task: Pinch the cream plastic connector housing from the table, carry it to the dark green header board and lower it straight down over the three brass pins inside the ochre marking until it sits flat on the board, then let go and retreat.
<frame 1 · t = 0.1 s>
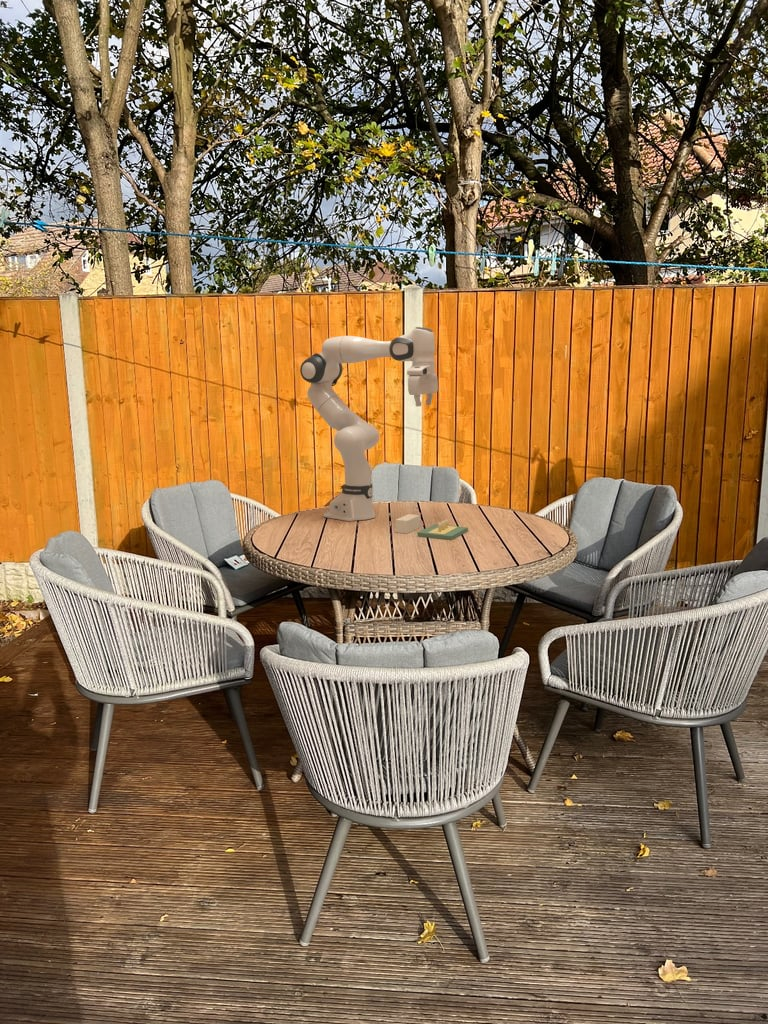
hand: (423, 405, 300), 48 cm above the table, fingers open, 8 cm apart
housing: (408, 529, 299), on the table
header board: (443, 533, 292), on the table
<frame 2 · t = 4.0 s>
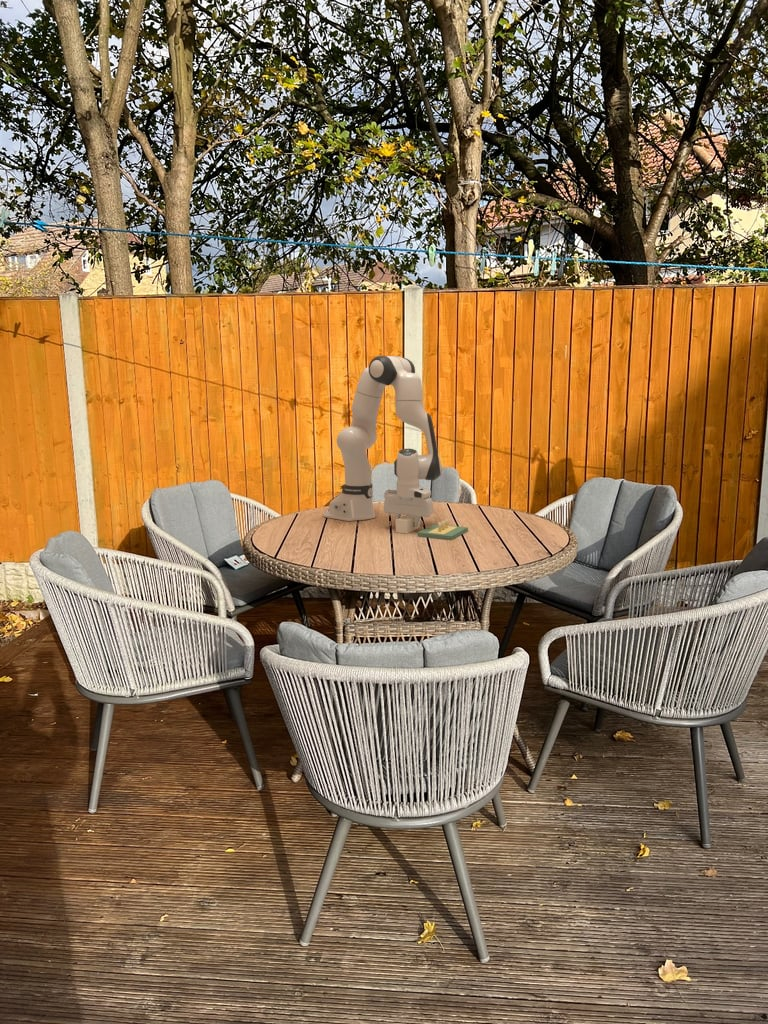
hand: (408, 525, 298), 2 cm above the table, fingers closed on housing, 5 cm apart
housing: (408, 529, 299), on the table, touching gripper
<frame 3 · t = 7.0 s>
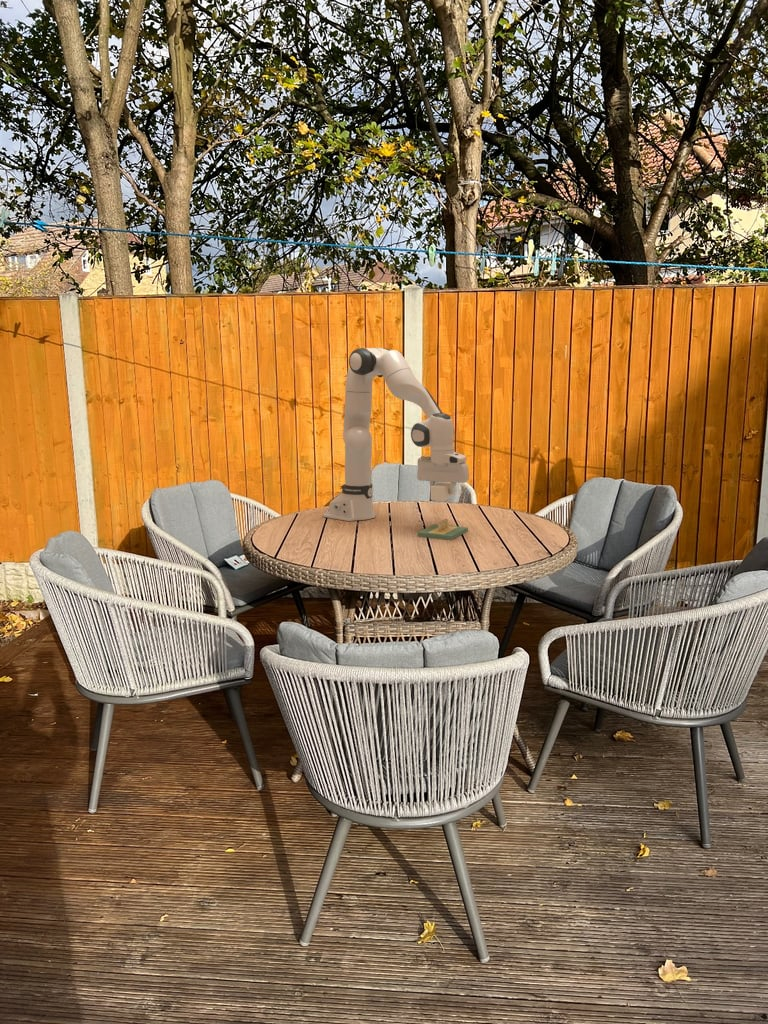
hand: (443, 493, 288), 16 cm above the table, fingers closed on housing, 5 cm apart
housing: (443, 497, 289), point 14 cm above the table, touching gripper
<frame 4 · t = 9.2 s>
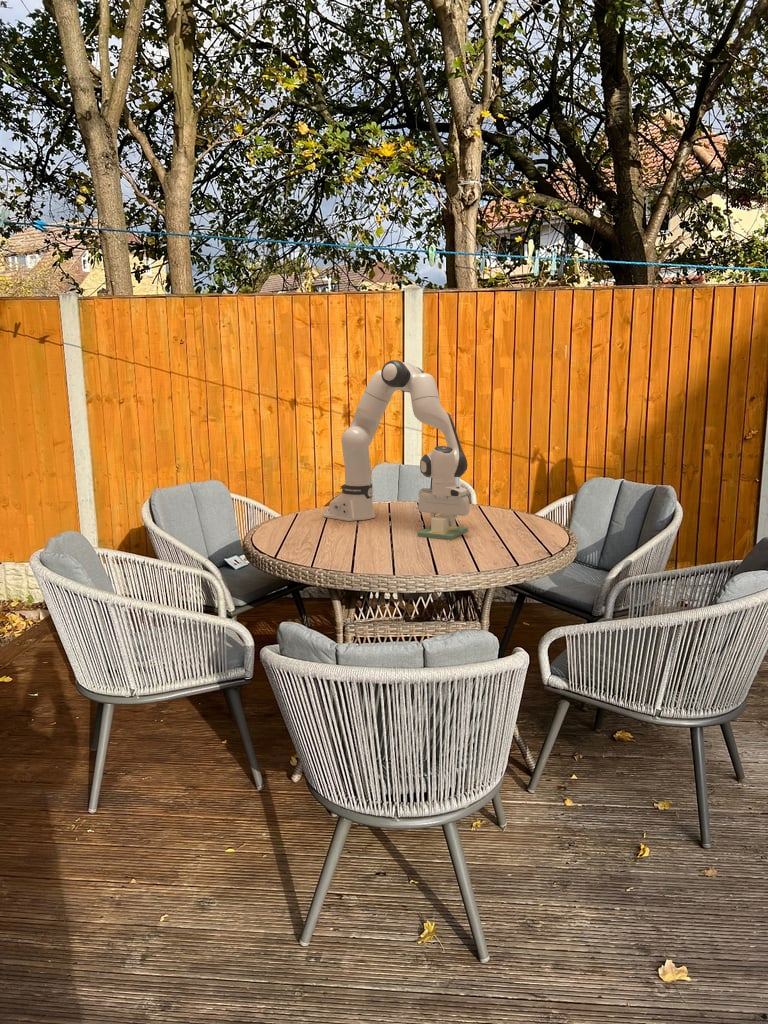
hand: (443, 525, 291), 3 cm above the table, fingers closed on housing, 5 cm apart
housing: (443, 529, 291), point 2 cm above the table, touching gripper
when the fingers open (3 cm above the table, at t = 10.4 s): housing stays where it is, resting on header board.
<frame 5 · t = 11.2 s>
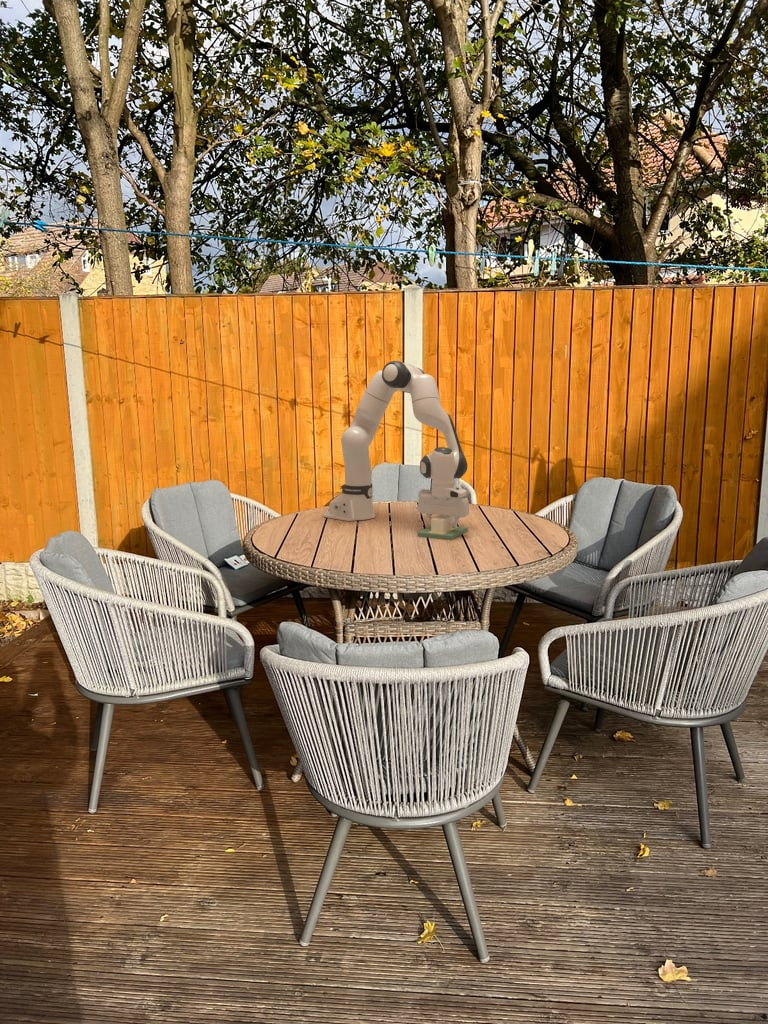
hand: (443, 526, 291), 3 cm above the table, fingers open, 8 cm apart
housing: (443, 529, 291), point 2 cm above the table, touching header board
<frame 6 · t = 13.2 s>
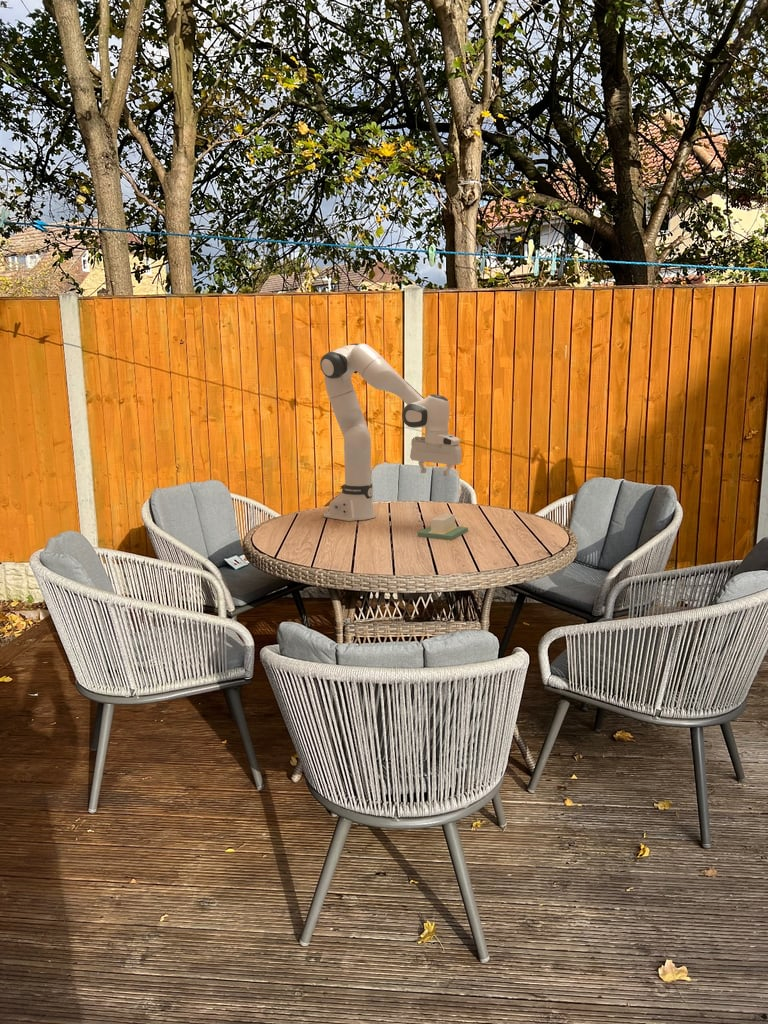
hand: (434, 474, 291), 22 cm above the table, fingers open, 8 cm apart
nothing on the table moved.
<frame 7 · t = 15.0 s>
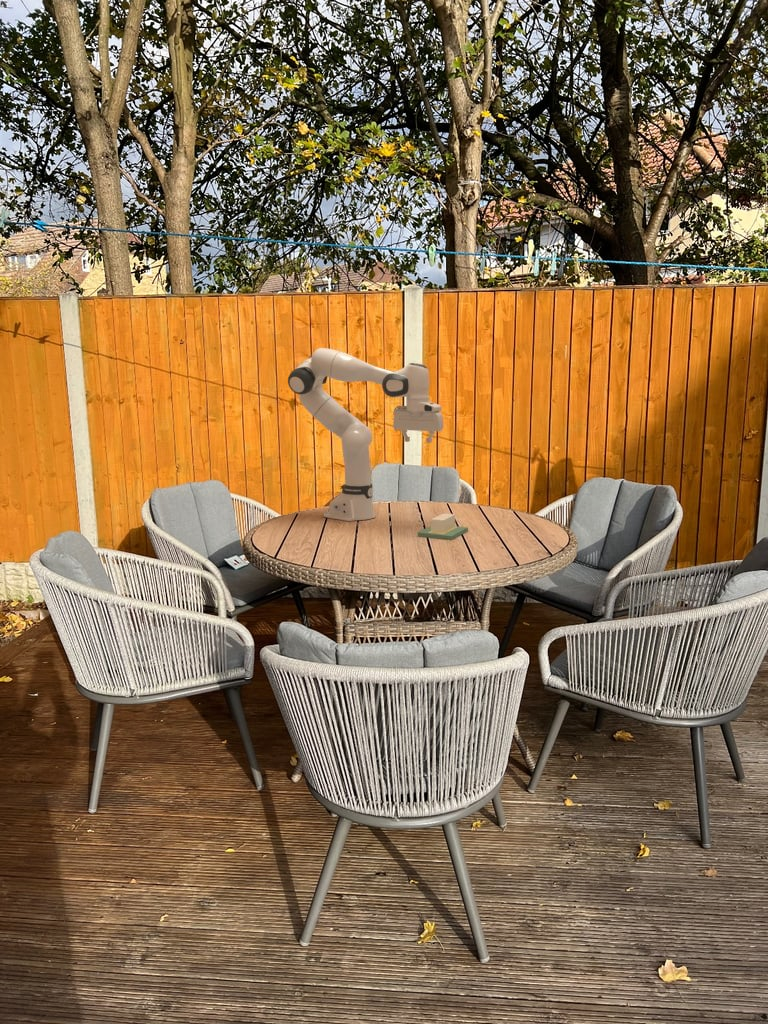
hand: (418, 442, 295), 34 cm above the table, fingers open, 8 cm apart
nothing on the table moved.
at the end: housing 0.1 cm off-centre on the header board, point 1.6 cm above the header board's base; housing tilted 0°; the gripper is holding nothing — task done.
